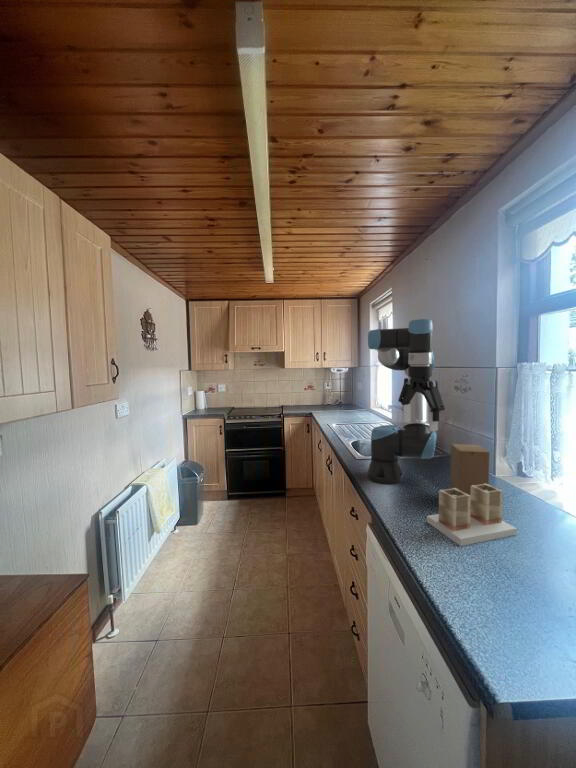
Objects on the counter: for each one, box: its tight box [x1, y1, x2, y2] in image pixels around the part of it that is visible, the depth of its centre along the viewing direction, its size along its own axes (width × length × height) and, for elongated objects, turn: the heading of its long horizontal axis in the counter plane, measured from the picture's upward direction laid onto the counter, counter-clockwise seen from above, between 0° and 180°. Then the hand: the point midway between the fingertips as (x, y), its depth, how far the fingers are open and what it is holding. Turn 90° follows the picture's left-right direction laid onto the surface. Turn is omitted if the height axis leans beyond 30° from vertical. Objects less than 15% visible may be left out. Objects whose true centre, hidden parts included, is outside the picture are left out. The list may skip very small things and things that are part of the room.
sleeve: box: [438, 488, 471, 531], centre depth 96 cm, size 6×6×10 cm
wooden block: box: [449, 443, 490, 496], centre depth 116 cm, size 10×10×20 cm
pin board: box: [426, 490, 518, 547], centre depth 97 cm, size 14×20×11 cm
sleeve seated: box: [470, 484, 504, 525], centre depth 99 cm, size 6×6×10 cm
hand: (419, 426), depth 110 cm, fingers open, 13 cm apart
